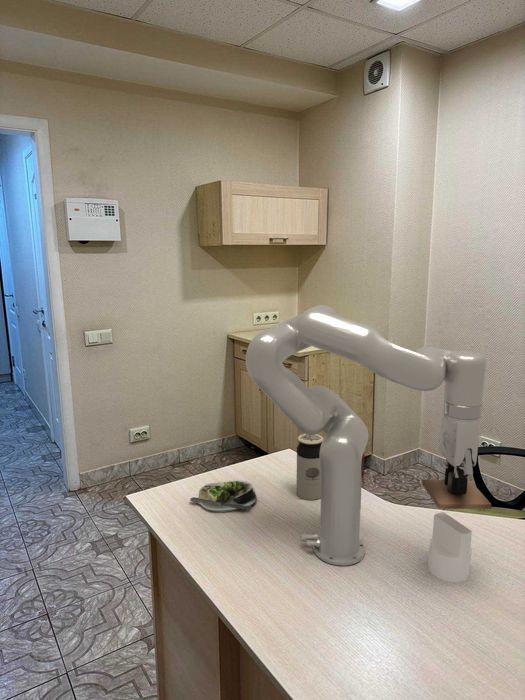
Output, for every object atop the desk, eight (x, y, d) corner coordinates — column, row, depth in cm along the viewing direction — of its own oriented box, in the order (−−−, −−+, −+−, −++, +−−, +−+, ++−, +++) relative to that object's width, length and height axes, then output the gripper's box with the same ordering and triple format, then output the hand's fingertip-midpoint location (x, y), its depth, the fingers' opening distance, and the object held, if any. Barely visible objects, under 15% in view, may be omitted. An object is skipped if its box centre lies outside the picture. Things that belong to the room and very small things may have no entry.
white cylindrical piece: (419, 563, 117) (422, 517, 114) (449, 553, 120) (452, 508, 117) (447, 587, 108) (451, 538, 106) (478, 576, 112) (483, 528, 109)
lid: (438, 508, 103) (440, 486, 102) (421, 483, 114) (423, 463, 113) (490, 508, 103) (493, 486, 102) (469, 483, 114) (471, 463, 113)
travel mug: (297, 486, 153) (297, 432, 149) (323, 488, 152) (324, 433, 148) (295, 499, 145) (296, 442, 142) (322, 501, 144) (323, 444, 141)
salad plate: (190, 520, 136) (190, 504, 135) (189, 488, 153) (189, 475, 152) (260, 513, 139) (260, 498, 138) (251, 484, 156) (251, 470, 155)
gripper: (431, 397, 113) (426, 472, 116) (459, 423, 96) (451, 508, 100) (464, 397, 112) (458, 472, 116) (497, 423, 96) (488, 509, 100)
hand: (455, 488), depth 108 cm, fingers closed on lid, 3 cm apart
